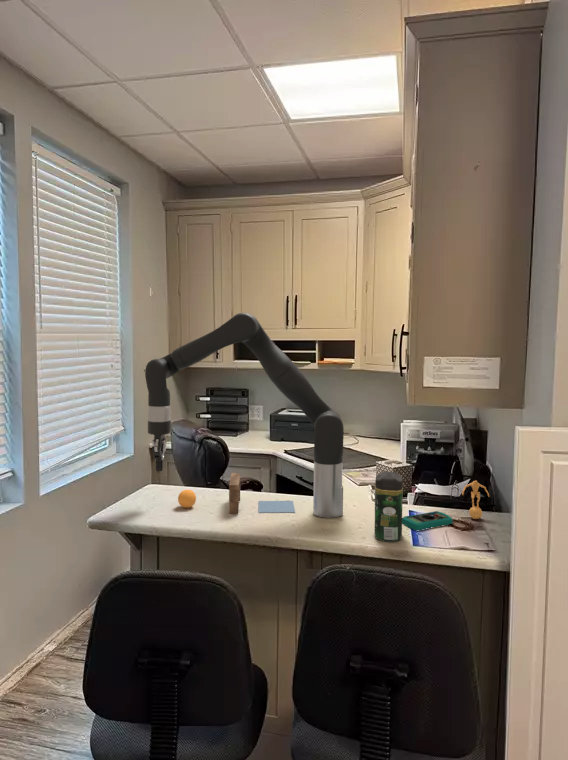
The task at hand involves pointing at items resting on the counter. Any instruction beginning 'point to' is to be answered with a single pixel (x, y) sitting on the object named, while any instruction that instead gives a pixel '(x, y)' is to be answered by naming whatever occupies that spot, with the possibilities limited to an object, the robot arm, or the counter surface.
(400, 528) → the coffee jar
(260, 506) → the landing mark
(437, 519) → the digital multimeter
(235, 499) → the bridge
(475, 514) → the figurine
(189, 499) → the ball
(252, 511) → the counter surface
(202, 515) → the counter surface
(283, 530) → the counter surface
